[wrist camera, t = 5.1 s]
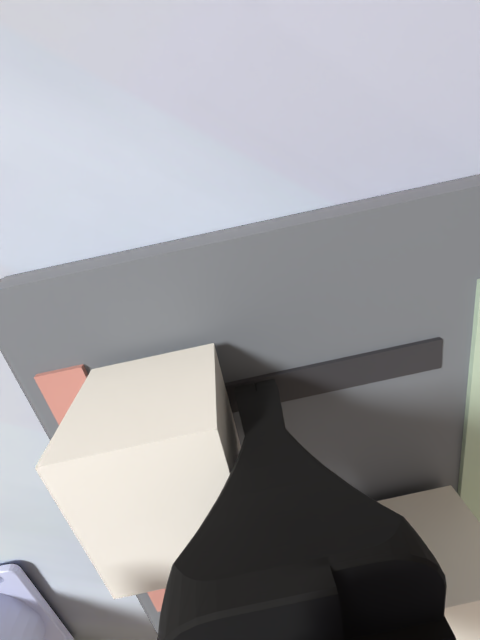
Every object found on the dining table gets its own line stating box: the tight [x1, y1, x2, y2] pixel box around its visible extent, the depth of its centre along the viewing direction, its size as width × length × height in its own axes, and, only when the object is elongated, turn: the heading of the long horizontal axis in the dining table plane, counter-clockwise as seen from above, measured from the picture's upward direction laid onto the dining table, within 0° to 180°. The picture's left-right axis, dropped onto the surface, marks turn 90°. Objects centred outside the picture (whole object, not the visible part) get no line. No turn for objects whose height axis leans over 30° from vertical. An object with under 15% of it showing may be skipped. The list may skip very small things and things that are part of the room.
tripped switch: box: [35, 343, 241, 599], centre depth 10 cm, size 4×5×4 cm
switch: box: [377, 485, 480, 640], centre depth 14 cm, size 4×5×4 cm
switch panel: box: [0, 174, 480, 634], centre depth 15 cm, size 18×20×2 cm
